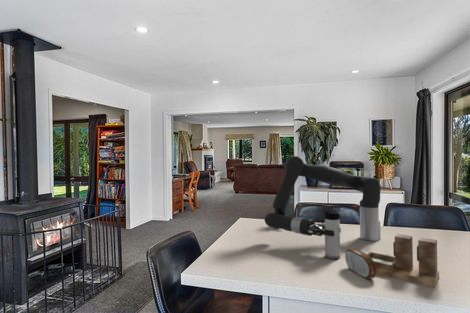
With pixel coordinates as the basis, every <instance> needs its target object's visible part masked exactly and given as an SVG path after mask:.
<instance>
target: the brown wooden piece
mask: <svg viewBox="0 0 470 313" xmlns="http://www.w3.org/2000/svg"><path fill="white" fill-rule="evenodd" d="M417 243H418V245H417V246H416V261H418V266H417V265H414V260H413V259H414V258H413V257H414V253H413V252H414V251H413V246H414V244H413V235H407V234H400V233H397V234H396V235H395V236H394V242H393V255H388V254H383V253H378V252H375V251H369V252H368V253H366V254H367V255H369V256H370V257H371V258H372V259H373V261H374V263H375V266H376V274H379V273H380V275H384V276H388V277H392V278H396V279H399V280H400V279H401V280H404V281H408V282H413V283H416V284H420V285H424V286H428V287H431V288H435V287H436V284H437V283H438V280H439V279H440V271H439V270H438V240H437V239H433V238H429V237H428V238H426V237H420V238H419V239H418V241H417Z"/></svg>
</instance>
